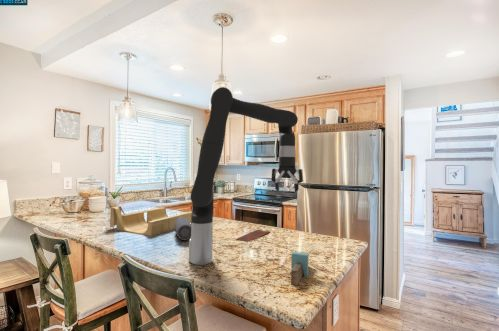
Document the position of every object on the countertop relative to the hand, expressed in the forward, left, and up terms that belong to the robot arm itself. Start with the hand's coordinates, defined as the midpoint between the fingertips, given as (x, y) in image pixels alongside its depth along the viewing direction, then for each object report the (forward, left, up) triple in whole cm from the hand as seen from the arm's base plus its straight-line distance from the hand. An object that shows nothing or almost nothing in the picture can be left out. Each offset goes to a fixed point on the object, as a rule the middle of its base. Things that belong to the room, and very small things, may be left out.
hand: (286, 191), depth 122 cm
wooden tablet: (-27, +28, -31) cm, 50 cm away
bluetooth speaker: (-63, +8, -30) cm, 70 cm away
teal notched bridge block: (+10, -17, -30) cm, 36 cm away
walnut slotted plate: (+10, -17, -30) cm, 36 cm away
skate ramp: (-97, +22, -31) cm, 104 cm away
